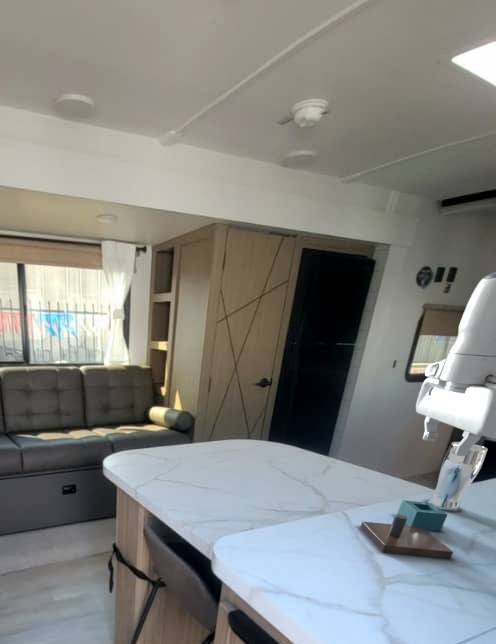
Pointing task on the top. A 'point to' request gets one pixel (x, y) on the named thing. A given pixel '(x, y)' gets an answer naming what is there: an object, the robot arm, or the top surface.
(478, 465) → the beer glass
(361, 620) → the top surface
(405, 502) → the teal hollow square block
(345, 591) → the top surface
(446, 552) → the base pad
